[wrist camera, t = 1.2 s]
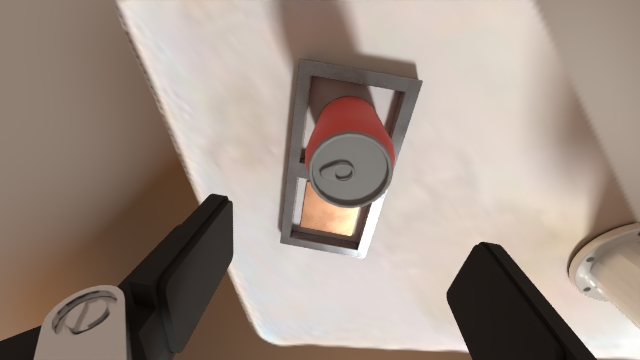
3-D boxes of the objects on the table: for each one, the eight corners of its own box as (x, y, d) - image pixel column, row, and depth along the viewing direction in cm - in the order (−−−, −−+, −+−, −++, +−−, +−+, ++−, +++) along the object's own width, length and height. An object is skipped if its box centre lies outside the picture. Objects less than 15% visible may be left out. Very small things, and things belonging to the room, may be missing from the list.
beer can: (315, 98, 25) (293, 127, 15) (379, 92, 25) (405, 119, 14) (320, 156, 28) (306, 216, 18) (378, 153, 27) (399, 214, 17)
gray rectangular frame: (418, 79, 24) (422, 80, 22) (363, 250, 34) (364, 258, 33) (302, 58, 24) (299, 59, 23) (282, 235, 34) (280, 243, 33)
